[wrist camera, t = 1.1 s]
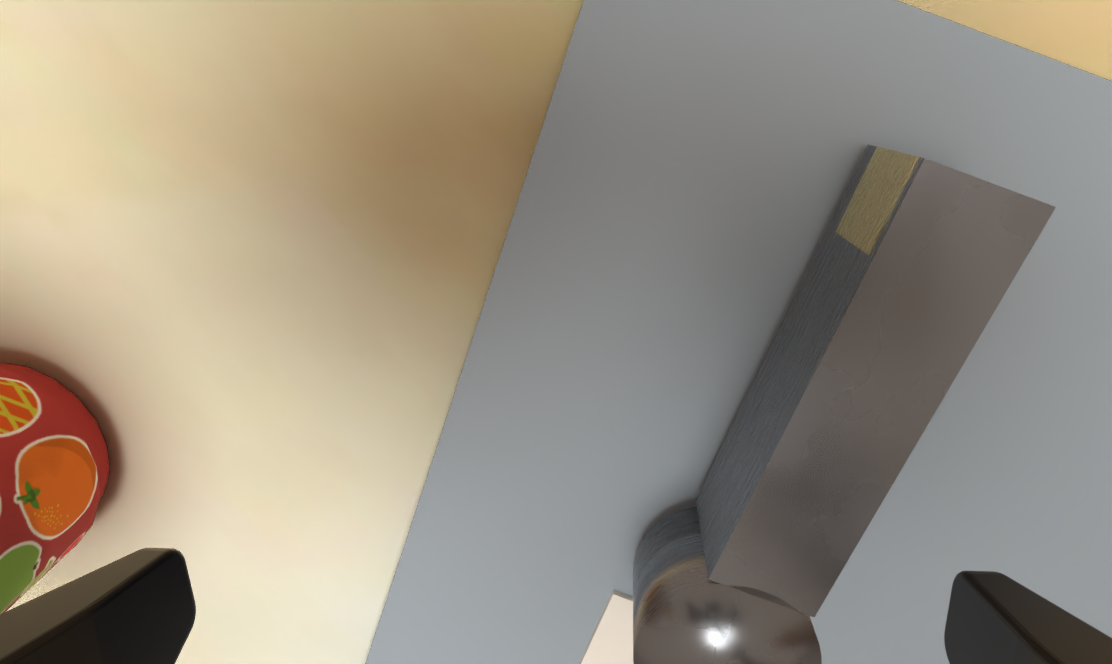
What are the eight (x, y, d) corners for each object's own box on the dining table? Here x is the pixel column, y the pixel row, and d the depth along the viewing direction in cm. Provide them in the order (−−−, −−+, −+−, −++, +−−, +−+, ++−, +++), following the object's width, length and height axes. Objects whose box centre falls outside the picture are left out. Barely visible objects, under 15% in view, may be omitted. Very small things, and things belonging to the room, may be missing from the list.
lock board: (1411, 203, 17) (1465, 212, 16) (835, 963, 27) (844, 1002, 26) (619, -94, 17) (618, -108, 16) (327, 787, 27) (313, 817, 26)
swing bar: (751, 656, 21) (773, 757, 18) (610, 606, 21) (606, 698, 18) (1010, 197, 17) (1101, 224, 13) (830, 131, 17) (879, 141, 13)
